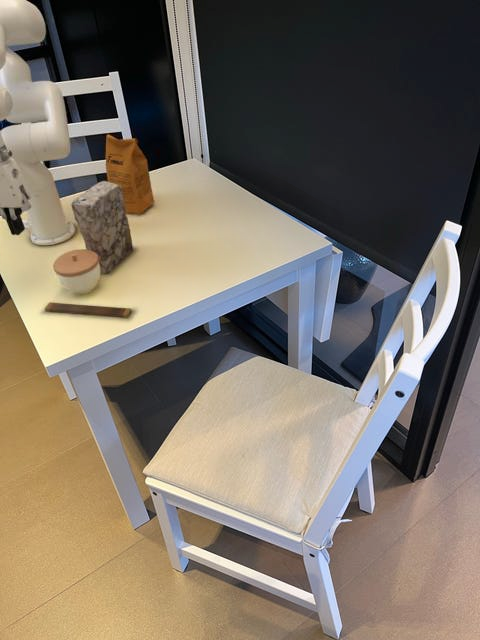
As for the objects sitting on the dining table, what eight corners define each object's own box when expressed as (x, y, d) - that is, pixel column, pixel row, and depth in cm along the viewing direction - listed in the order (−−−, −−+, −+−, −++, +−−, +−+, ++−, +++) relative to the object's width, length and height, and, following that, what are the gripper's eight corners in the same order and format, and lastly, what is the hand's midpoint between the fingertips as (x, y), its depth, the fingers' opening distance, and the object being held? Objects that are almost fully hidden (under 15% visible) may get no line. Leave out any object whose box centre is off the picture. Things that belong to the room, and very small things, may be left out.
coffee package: (130, 196, 168) (114, 128, 154) (159, 203, 163) (146, 133, 149) (108, 209, 162) (91, 139, 148) (138, 217, 156) (123, 145, 143)
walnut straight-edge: (45, 311, 123) (44, 308, 122) (50, 304, 125) (49, 302, 124) (128, 318, 118) (127, 315, 118) (132, 311, 120) (131, 308, 120)
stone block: (113, 275, 132) (93, 204, 120) (89, 272, 135) (68, 201, 122) (137, 249, 142) (121, 180, 129) (115, 246, 144) (97, 178, 131)
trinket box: (94, 301, 124) (84, 268, 119) (54, 298, 127) (42, 266, 121) (112, 275, 132) (103, 244, 127) (73, 273, 135) (63, 242, 129)
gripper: (29, 149, 112) (55, 225, 123) (-31, 149, 115) (-1, 223, 126) (11, 162, 106) (39, 241, 117) (-52, 162, 109) (-19, 239, 120)
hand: (18, 232), depth 122 cm, fingers closed
